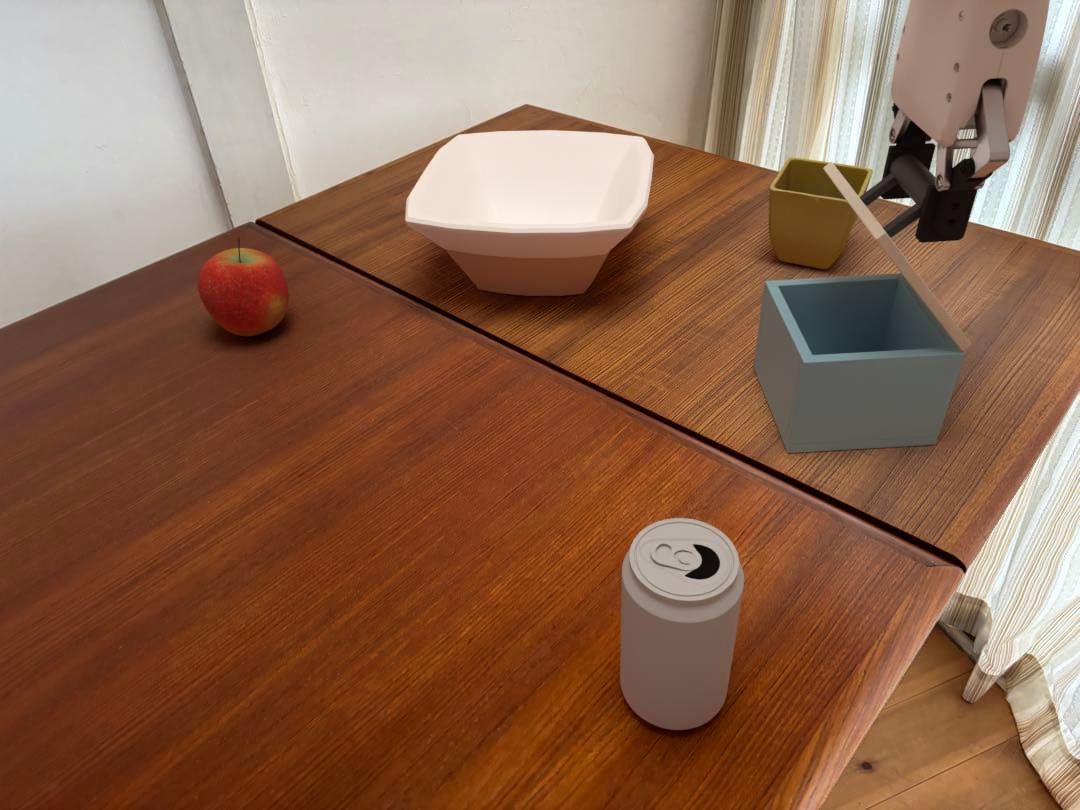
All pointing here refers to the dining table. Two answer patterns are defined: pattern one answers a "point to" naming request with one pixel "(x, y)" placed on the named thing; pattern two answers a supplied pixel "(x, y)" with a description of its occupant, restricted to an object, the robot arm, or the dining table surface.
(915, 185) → the lid
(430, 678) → the dining table surface
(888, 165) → the robot arm
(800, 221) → the flower pot
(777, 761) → the dining table surface
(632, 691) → the beverage can
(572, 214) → the bowl
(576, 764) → the dining table surface
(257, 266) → the apple
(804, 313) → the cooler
